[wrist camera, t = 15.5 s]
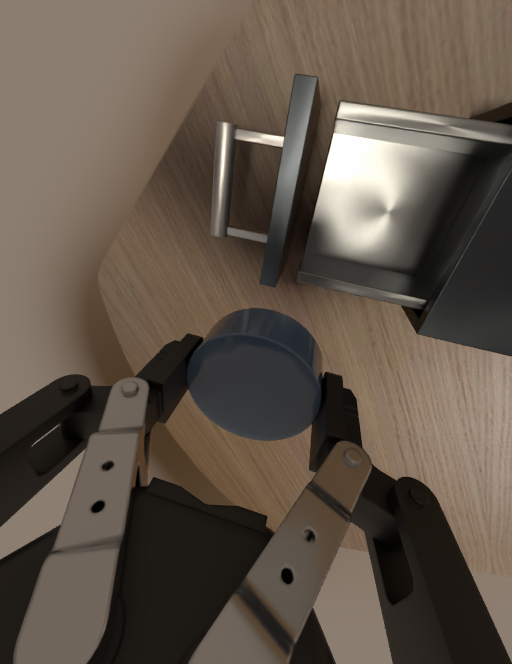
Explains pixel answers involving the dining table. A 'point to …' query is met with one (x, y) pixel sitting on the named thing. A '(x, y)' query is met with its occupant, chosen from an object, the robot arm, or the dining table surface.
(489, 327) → the cabinet
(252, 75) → the dining table surface
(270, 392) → the cylinder
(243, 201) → the dining table surface
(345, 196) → the drawer
